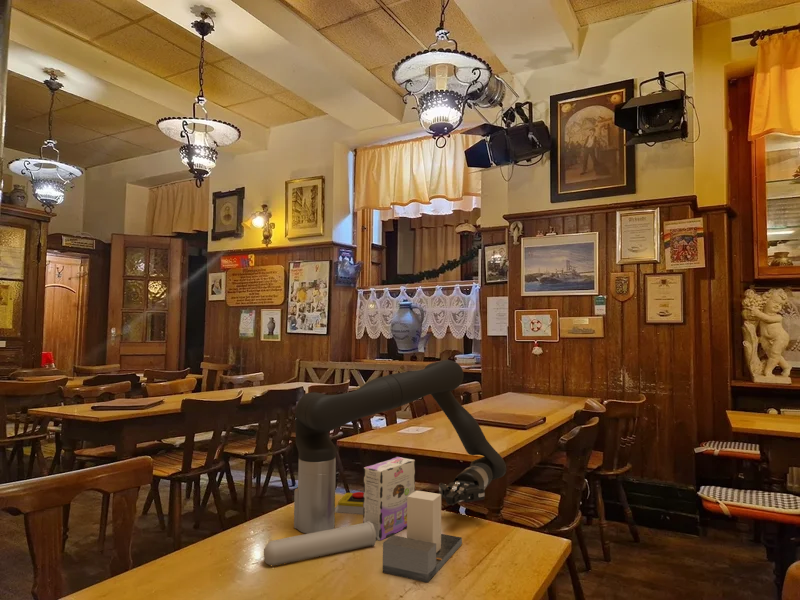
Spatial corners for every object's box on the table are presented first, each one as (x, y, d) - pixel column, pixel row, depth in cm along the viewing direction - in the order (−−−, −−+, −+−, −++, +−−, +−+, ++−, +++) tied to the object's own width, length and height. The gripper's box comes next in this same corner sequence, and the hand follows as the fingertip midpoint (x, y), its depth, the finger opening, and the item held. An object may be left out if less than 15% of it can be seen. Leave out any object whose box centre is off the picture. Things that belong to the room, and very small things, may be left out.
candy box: (397, 519, 142) (398, 455, 143) (415, 524, 138) (416, 459, 139) (361, 535, 131) (362, 466, 132) (380, 541, 128) (381, 470, 128)
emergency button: (341, 487, 156) (392, 490, 153) (341, 503, 156) (392, 506, 153) (331, 497, 147) (385, 501, 144) (331, 514, 147) (385, 518, 144)
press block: (406, 551, 118) (407, 496, 118) (415, 543, 122) (416, 490, 123) (432, 556, 115) (432, 500, 116) (440, 548, 120) (441, 494, 120)
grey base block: (382, 572, 112) (382, 542, 112) (422, 536, 131) (422, 511, 131) (427, 582, 107) (428, 551, 108) (461, 544, 126) (462, 517, 127)
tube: (267, 553, 112) (377, 531, 123) (261, 536, 116) (368, 516, 128) (265, 575, 113) (374, 551, 125) (259, 557, 117) (365, 535, 129)
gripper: (448, 465, 152) (425, 482, 137) (494, 471, 147) (475, 489, 131) (448, 493, 152) (424, 512, 136) (494, 499, 146) (475, 520, 131)
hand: (449, 500), depth 134 cm, fingers closed
